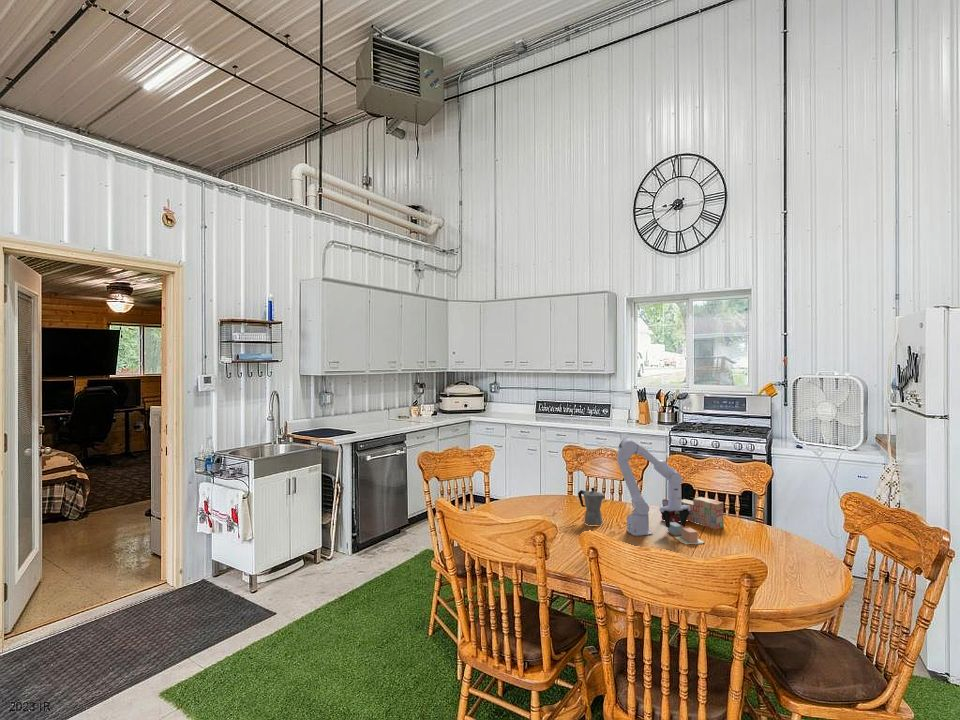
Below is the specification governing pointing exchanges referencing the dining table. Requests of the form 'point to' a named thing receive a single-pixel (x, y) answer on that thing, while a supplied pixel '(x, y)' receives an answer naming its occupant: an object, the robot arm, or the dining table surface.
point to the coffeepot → (592, 506)
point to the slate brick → (675, 528)
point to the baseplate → (689, 542)
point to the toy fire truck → (672, 513)
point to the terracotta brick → (689, 535)
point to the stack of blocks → (705, 512)
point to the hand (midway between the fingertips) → (675, 526)
